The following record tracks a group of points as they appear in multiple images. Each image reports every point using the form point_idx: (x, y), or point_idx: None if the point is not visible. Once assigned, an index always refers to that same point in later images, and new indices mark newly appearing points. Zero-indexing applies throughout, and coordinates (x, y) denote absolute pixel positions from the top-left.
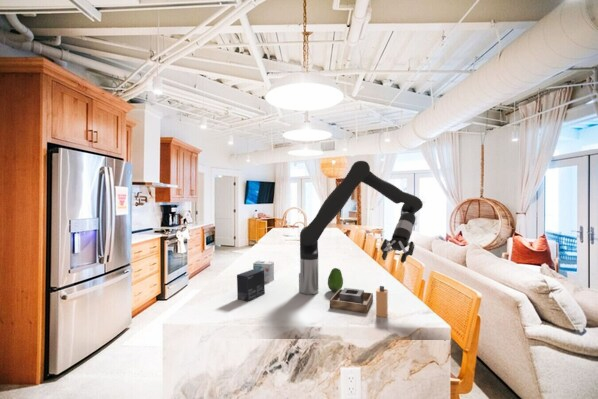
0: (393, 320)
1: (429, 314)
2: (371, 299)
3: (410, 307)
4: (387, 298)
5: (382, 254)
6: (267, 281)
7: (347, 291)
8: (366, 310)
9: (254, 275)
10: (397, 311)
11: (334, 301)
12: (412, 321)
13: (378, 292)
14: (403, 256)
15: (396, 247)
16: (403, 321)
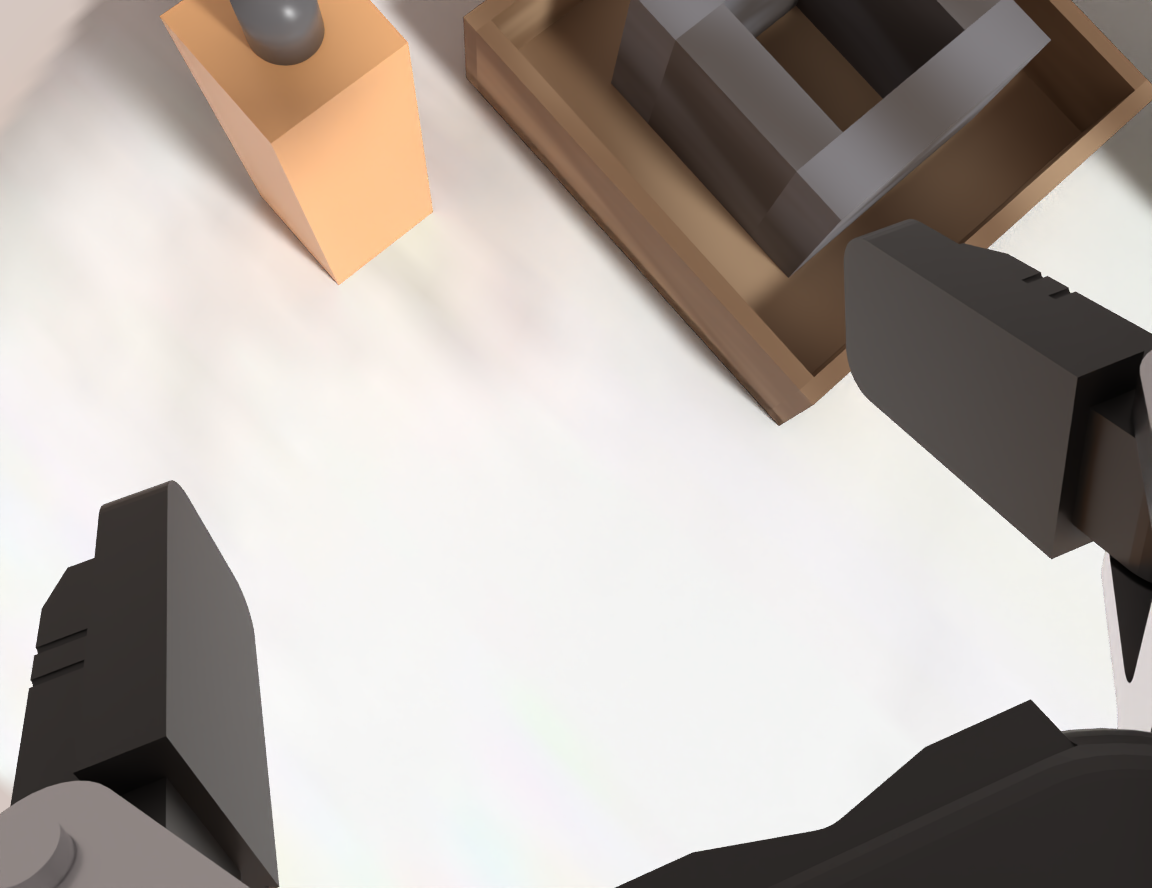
0: (152, 203)
1: None
2: (710, 320)
3: (345, 713)
4: (297, 202)
5: (1057, 288)
6: None
7: (945, 39)
8: (466, 55)
9: None
10: (330, 445)
11: None
12: (7, 377)
13: None
14: (104, 659)
15: (808, 855)
16: (67, 283)
